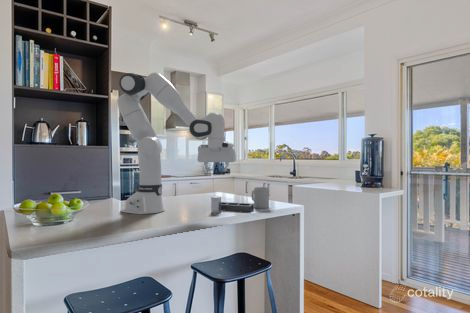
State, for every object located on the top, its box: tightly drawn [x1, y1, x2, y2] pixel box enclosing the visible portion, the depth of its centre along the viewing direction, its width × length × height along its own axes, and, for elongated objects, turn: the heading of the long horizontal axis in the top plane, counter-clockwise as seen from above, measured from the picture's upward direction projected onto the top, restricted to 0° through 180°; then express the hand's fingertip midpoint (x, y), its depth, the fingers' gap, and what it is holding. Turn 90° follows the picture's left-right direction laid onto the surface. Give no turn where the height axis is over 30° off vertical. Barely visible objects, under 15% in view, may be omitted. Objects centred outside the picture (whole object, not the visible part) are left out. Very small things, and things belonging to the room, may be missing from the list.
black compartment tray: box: [221, 201, 255, 213], centre depth 163 cm, size 21×9×3 cm, turn 73°
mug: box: [251, 186, 270, 210], centre depth 171 cm, size 12×8×11 cm
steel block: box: [210, 195, 222, 214], centre depth 155 cm, size 4×4×8 cm
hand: (216, 171), depth 154 cm, fingers open, 8 cm apart
